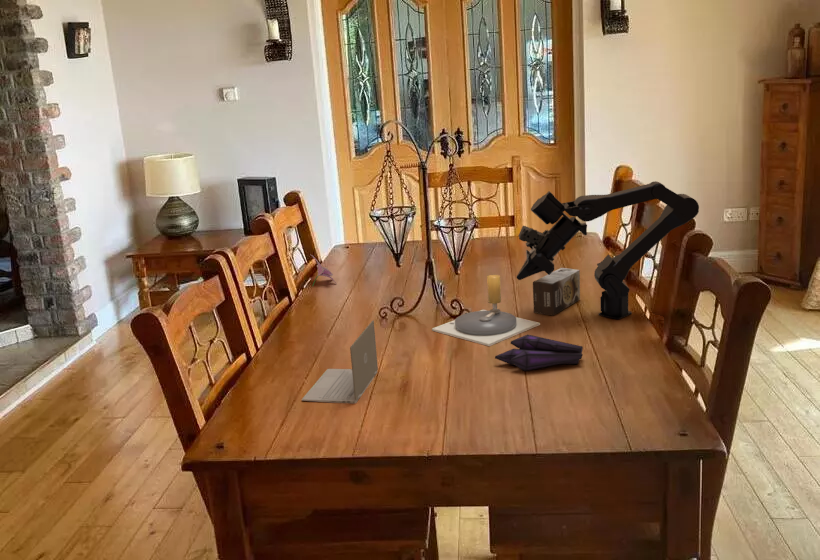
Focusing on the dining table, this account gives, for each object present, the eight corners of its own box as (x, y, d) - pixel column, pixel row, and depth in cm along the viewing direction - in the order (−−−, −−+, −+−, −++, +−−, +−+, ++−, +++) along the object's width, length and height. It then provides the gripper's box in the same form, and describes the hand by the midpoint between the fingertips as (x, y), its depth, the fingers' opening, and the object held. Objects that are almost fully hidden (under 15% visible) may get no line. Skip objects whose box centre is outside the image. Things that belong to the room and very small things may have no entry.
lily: (332, 293, 263) (342, 265, 263) (297, 280, 263) (307, 252, 264) (335, 294, 275) (345, 267, 275) (301, 282, 275) (311, 255, 276)
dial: (501, 338, 206) (499, 293, 203) (444, 331, 214) (442, 288, 211) (525, 318, 219) (524, 276, 216) (471, 313, 227) (469, 272, 224)
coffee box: (581, 300, 234) (553, 316, 222) (560, 297, 238) (532, 313, 226) (580, 269, 232) (553, 284, 220) (559, 266, 236) (531, 281, 224)
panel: (539, 324, 216) (539, 321, 216) (489, 346, 203) (488, 342, 203) (482, 311, 230) (482, 308, 230) (432, 330, 218) (431, 327, 217)
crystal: (582, 330, 192) (496, 325, 194) (586, 352, 181) (495, 347, 183) (580, 357, 194) (495, 352, 196) (584, 381, 184) (494, 376, 186)
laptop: (327, 371, 195) (322, 319, 191) (378, 372, 192) (374, 319, 189) (301, 402, 178) (295, 346, 175) (356, 404, 175) (351, 346, 172)
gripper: (533, 208, 223) (493, 250, 226) (540, 222, 205) (497, 267, 208) (563, 235, 224) (523, 277, 228) (572, 251, 206) (529, 296, 210)
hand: (517, 278), depth 218 cm, fingers closed
